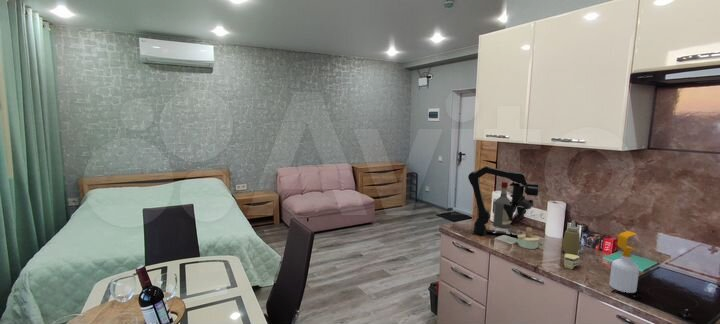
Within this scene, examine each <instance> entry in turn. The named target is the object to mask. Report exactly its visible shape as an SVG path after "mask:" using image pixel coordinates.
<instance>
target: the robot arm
mask: <svg viewBox="0 0 720 324" xmlns="http://www.w3.org/2000/svg"><path fill="white" fill-rule="evenodd" d="M486 174H489V175H493V176H498V177H501V178H505V179H508V180H510V181H512V182H511V183H509V186H511V187H512V194H510V197H511V202H510V204H509V203H507V204H504V205H503V209H504V210H505V211H506V213H507V215H508V218H509V220H510V221H511V222H512V221H513V218H514V215H515V214H514V213H515V212H516V213H517V217H518V219H519V220H521V218H522V217H523V216H524V213H525V211H528V210H530V209H531V208H532V207H534V200H533V199H526V196H532V197H538V196H539V183H538V184H537V183H528V181H527V180H526V175H525V174H524V172H522V171H521V172H520V171H509V170H508V171H507V170H504V169H499V168H495V167H492V166H489V165H485V166H483V167H482V168H480V169H478V170H476V171H475V170H473V171H471V172H470V173H469V174H468V175H467V176H468V177H467V178H468V181H469V183H470V185H471V187H472V190H473V193H474V197H475V202H476V205H477V211H478V215H477V216H478V217H477V218H476V219H475V221H474V224H473V232H471V233H472V234H473V235H475V236H479V237H483V236H487V235H488V233H487V224H488V223H489V222H490V221H489V220H490V218H491V215H490V210H489V209H486V206H485V203H484V199H483V195H482V190H481V186H480V178H481V177H483V176H485V175H486ZM524 193H525V194H526V196H525V195H524Z"/></svg>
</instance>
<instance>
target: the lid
mask: <svg viewBox="0 0 720 324" xmlns="http://www.w3.org/2000/svg"><path fill="white" fill-rule="evenodd" d="M525 228H526V229H525V233H517V237H516V238H517V239H518V238H519V239H522V240H525V241H531V242H536V241H538V242H539V241H540V237H539V236H537V235H535V234H532V231H533V227H529V226H528V227H525Z"/></svg>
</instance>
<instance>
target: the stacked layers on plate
mask: <svg viewBox="0 0 720 324" xmlns="http://www.w3.org/2000/svg"><path fill="white" fill-rule="evenodd" d="M579 258H580V256H579V255H578V254H576V255H573V254H567V253H564V258H563V259H564V261H563V265H564V268H565V269H570V270H573V269H574V267H575V266H578V265H580V263H579V261H580V259H579Z"/></svg>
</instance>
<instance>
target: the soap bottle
mask: <svg viewBox="0 0 720 324" xmlns="http://www.w3.org/2000/svg"><path fill="white" fill-rule="evenodd" d="M636 235H637V233H636V232H633V231H630V230H627V231H623V232H621V233H619V234H618V236H617V245H616V246H617V247H618V248H620V249H622V251H623V252H622V253H621V255H620V258H617V259H615V260H613V261H612V262H611V266H610V274H609V275H610V276H609V286H610V288H612V289H614V290H615V291H619V292H621V293H625V292H626V293H627V294H634V293H637V290H638V289H637V288H638V282H639V275H640V274H639V273H640V268H639V266H638V264H636V263H635V262H634V261H632V258H633V257H632V254H630V253H631V252H632V251H636V248H634V247H631V246H629V245H628V240H629V238H632V237H634V236H636ZM626 293H625V294H626Z"/></svg>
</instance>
